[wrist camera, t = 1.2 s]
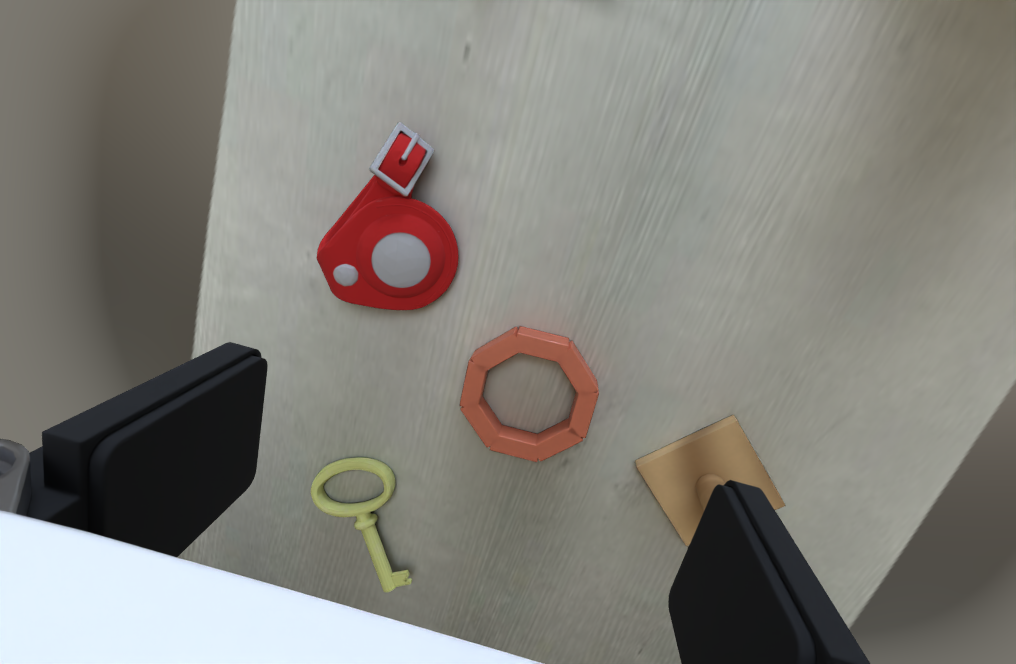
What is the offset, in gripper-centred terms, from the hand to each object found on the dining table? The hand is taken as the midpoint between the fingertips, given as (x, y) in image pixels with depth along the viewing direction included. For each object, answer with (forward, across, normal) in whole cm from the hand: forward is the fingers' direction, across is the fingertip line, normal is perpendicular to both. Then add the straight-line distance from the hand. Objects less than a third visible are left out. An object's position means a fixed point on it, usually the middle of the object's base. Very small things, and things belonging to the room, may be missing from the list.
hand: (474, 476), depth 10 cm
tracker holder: (+28, +10, 0) cm, 29 cm away
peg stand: (+27, -17, +13) cm, 34 cm away
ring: (+28, -2, +10) cm, 29 cm away
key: (+28, +9, +25) cm, 38 cm away
